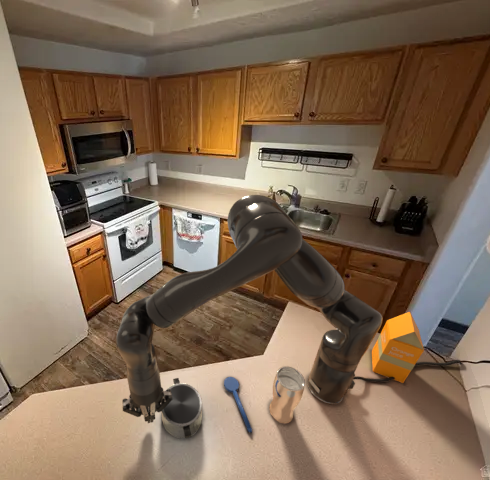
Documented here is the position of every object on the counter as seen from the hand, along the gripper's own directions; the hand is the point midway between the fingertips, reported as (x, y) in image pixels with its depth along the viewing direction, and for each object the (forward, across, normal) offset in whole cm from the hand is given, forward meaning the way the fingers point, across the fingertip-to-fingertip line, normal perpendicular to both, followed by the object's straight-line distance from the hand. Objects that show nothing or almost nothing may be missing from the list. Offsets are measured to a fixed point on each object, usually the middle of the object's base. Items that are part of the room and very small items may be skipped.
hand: (150, 418), depth 69 cm
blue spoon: (+2, +25, 0) cm, 25 cm away
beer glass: (+2, +36, -5) cm, 36 cm away
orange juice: (+2, +76, 0) cm, 76 cm away
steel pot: (+2, +9, 0) cm, 9 cm away
